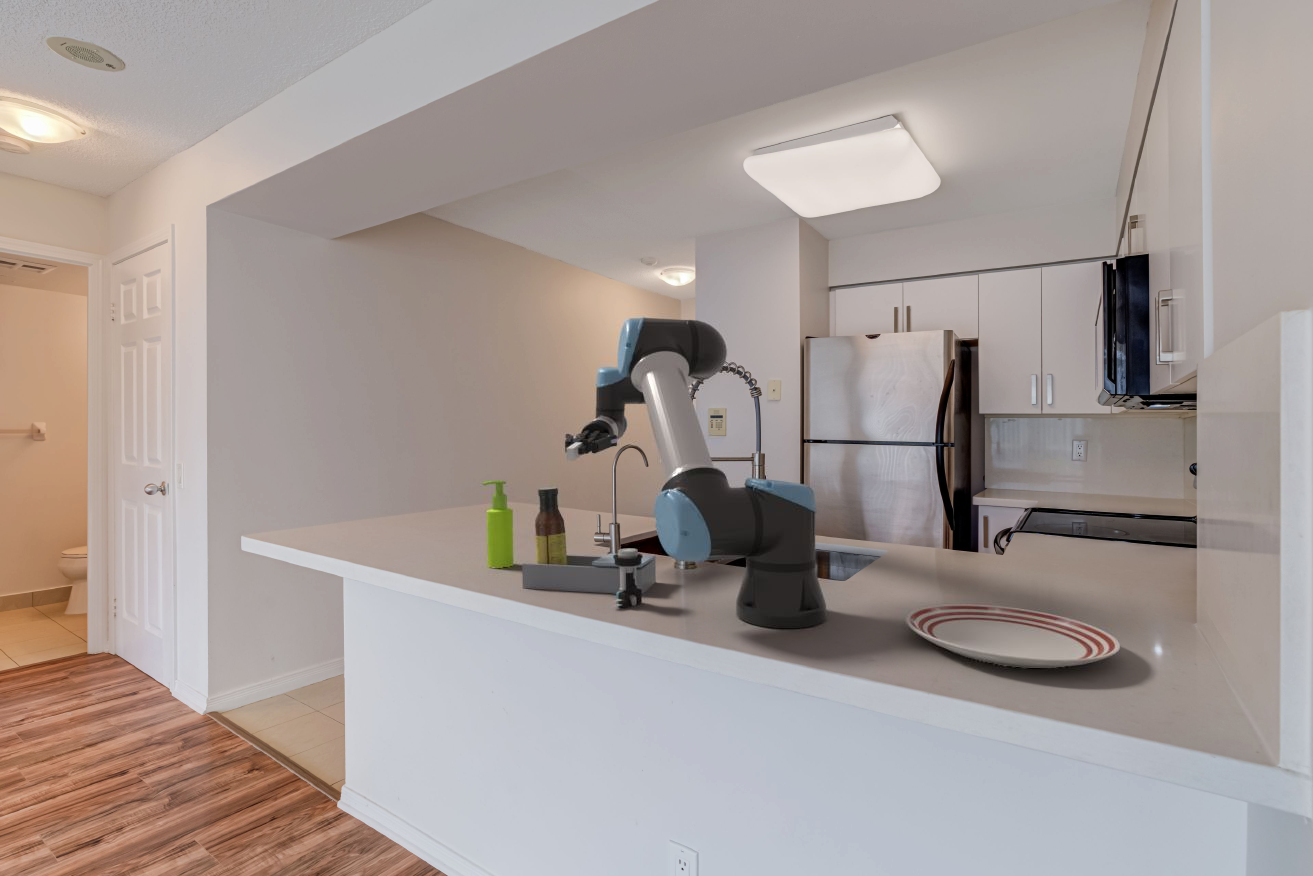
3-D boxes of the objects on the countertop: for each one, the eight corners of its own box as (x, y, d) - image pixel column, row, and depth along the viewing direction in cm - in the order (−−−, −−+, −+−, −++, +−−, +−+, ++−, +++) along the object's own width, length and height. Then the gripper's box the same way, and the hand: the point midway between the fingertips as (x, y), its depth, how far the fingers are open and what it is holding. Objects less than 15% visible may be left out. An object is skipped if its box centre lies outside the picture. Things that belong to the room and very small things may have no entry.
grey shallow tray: (655, 582, 137) (655, 558, 137) (641, 595, 127) (641, 569, 127) (544, 576, 144) (544, 553, 144) (522, 588, 134) (522, 563, 133)
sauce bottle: (570, 579, 140) (569, 486, 140) (563, 586, 134) (562, 489, 134) (540, 579, 141) (539, 486, 141) (532, 586, 135) (530, 489, 134)
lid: (655, 558, 137) (655, 555, 137) (640, 567, 127) (640, 564, 127) (609, 556, 140) (609, 553, 140) (592, 565, 129) (592, 561, 129)
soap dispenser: (481, 565, 156) (479, 480, 155) (510, 562, 159) (509, 479, 158) (485, 570, 150) (484, 482, 150) (515, 567, 153) (514, 480, 153)
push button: (624, 612, 116) (624, 555, 115) (602, 607, 119) (602, 552, 119) (649, 604, 121) (648, 549, 121) (627, 599, 124) (626, 546, 124)
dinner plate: (936, 610, 116) (936, 591, 116) (1127, 642, 99) (1128, 620, 98) (878, 654, 95) (878, 631, 94) (1109, 704, 77) (1109, 676, 77)
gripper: (625, 449, 164) (600, 472, 141) (575, 448, 166) (542, 470, 143) (624, 419, 162) (598, 437, 139) (573, 419, 165) (540, 436, 142)
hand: (570, 454), depth 141 cm, fingers closed
